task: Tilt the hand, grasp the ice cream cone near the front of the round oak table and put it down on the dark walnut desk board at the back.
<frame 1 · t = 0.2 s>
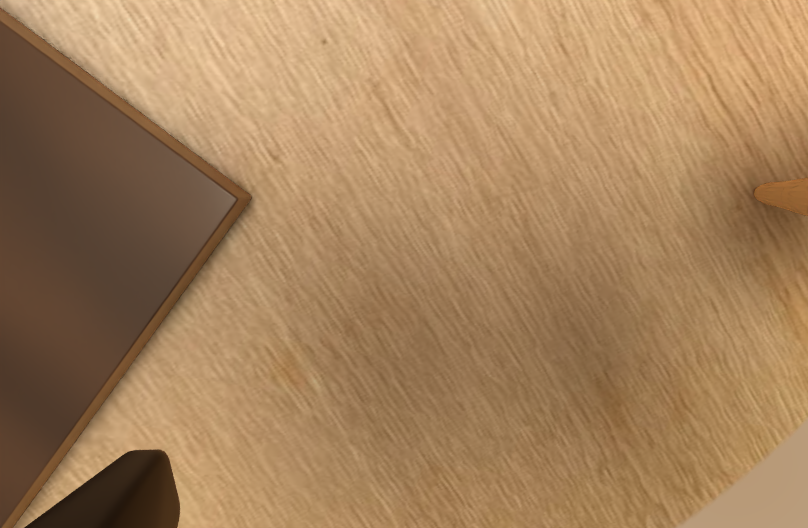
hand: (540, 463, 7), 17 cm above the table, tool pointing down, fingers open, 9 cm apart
ice cream cone: (756, 194, 23), on the table
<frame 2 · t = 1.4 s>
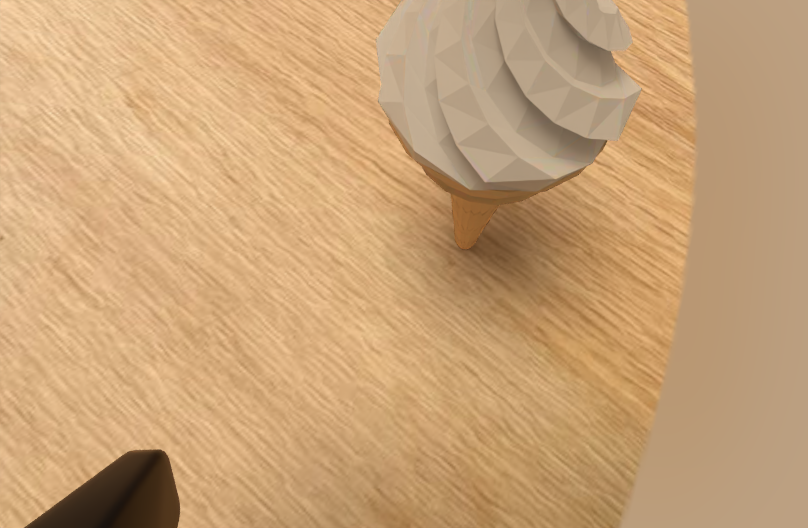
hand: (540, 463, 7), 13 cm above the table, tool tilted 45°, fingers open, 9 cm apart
ice cream cone: (465, 246, 23), on the table
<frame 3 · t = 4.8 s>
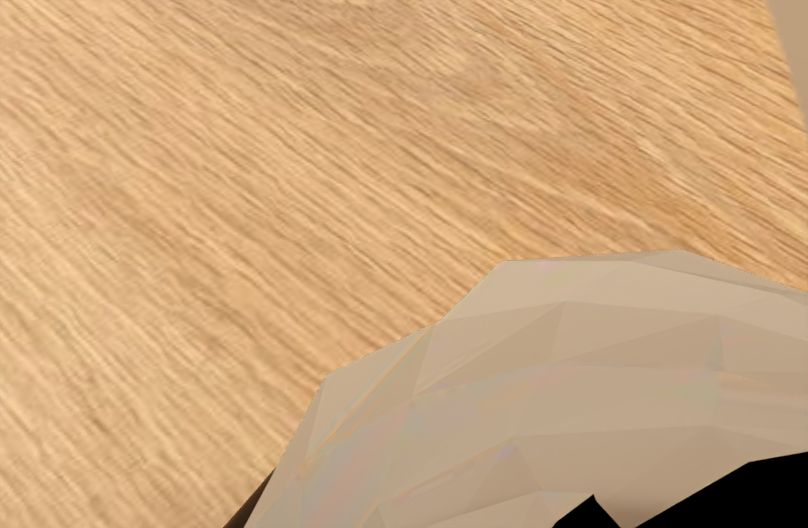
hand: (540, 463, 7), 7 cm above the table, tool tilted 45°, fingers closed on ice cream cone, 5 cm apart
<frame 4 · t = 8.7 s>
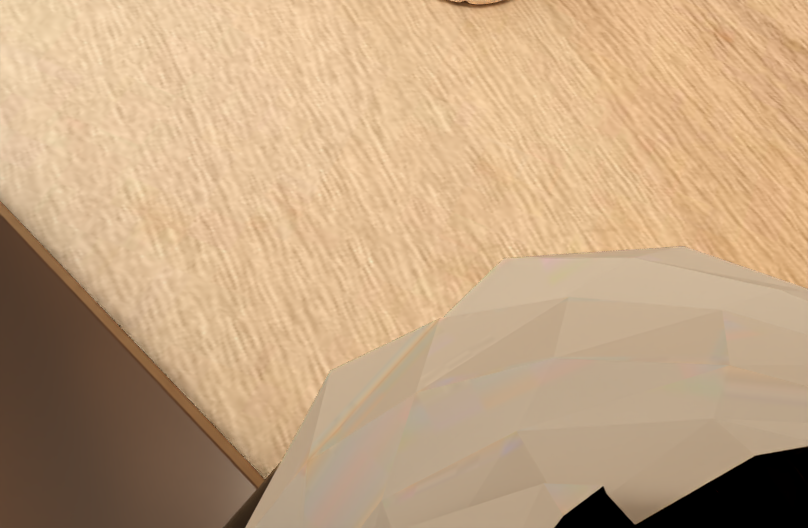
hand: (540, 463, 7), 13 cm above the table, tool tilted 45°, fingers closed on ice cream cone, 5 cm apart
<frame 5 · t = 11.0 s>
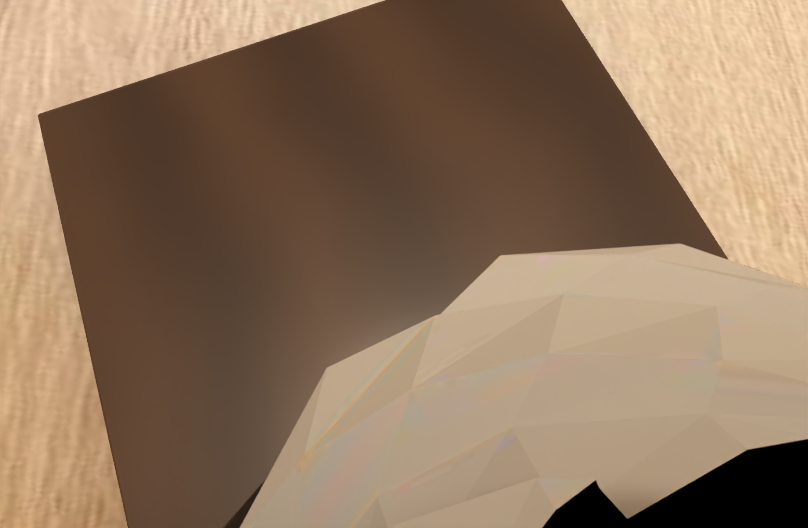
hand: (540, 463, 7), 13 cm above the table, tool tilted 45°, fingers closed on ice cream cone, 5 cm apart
desk board: (420, 335, 21), on the table
when the fingers open (9 cm above the table, at t = 12.5 s): ice cream cone stays where it is, resting on desk board.
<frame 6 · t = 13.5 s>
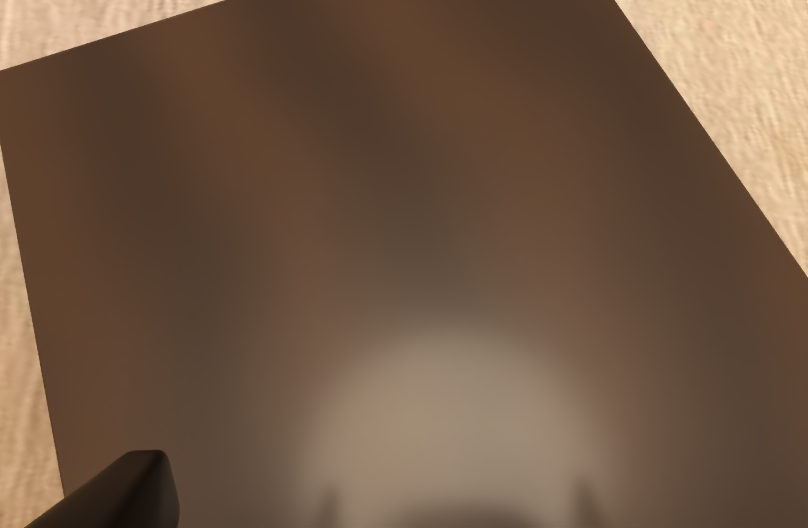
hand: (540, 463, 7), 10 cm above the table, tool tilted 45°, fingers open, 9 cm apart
desk board: (422, 324, 18), on the table
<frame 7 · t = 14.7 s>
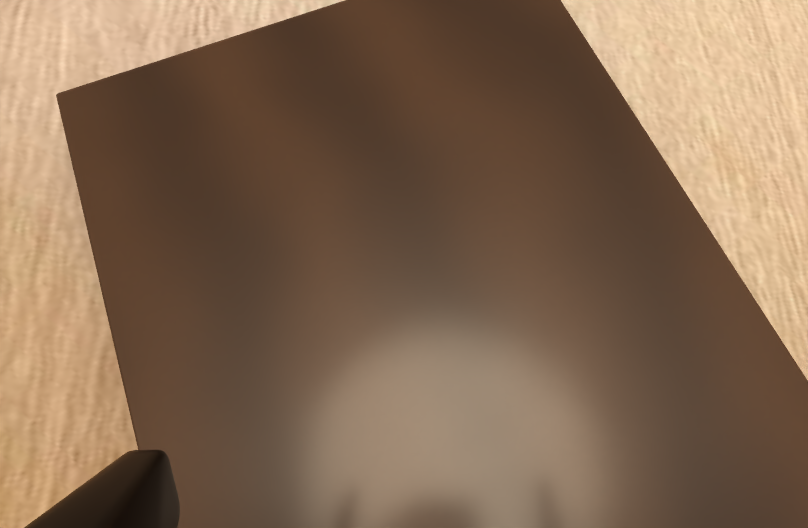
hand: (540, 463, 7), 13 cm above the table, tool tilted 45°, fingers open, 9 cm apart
desk board: (418, 301, 22), on the table
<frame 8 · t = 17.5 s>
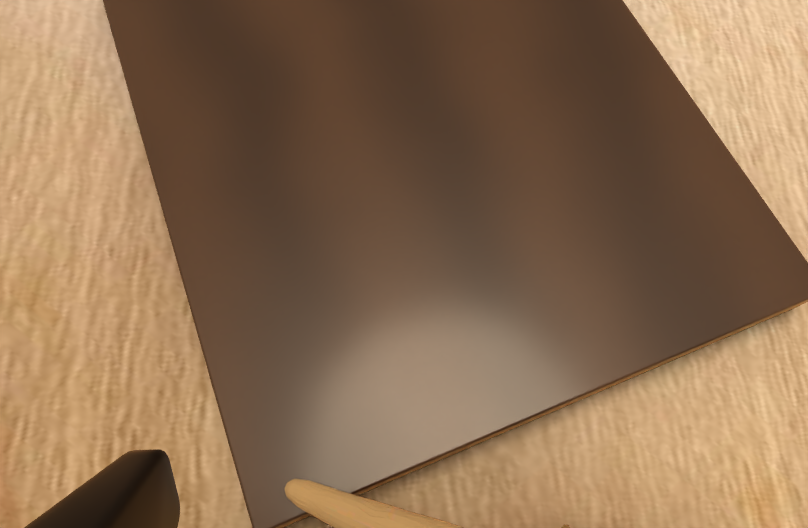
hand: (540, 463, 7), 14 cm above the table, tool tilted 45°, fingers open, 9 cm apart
desk board: (409, 129, 25), on the table
ice cream cone: (281, 480, 18), point 2 cm above the table, touching desk board
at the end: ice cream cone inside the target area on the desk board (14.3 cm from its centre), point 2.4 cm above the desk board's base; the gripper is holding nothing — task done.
